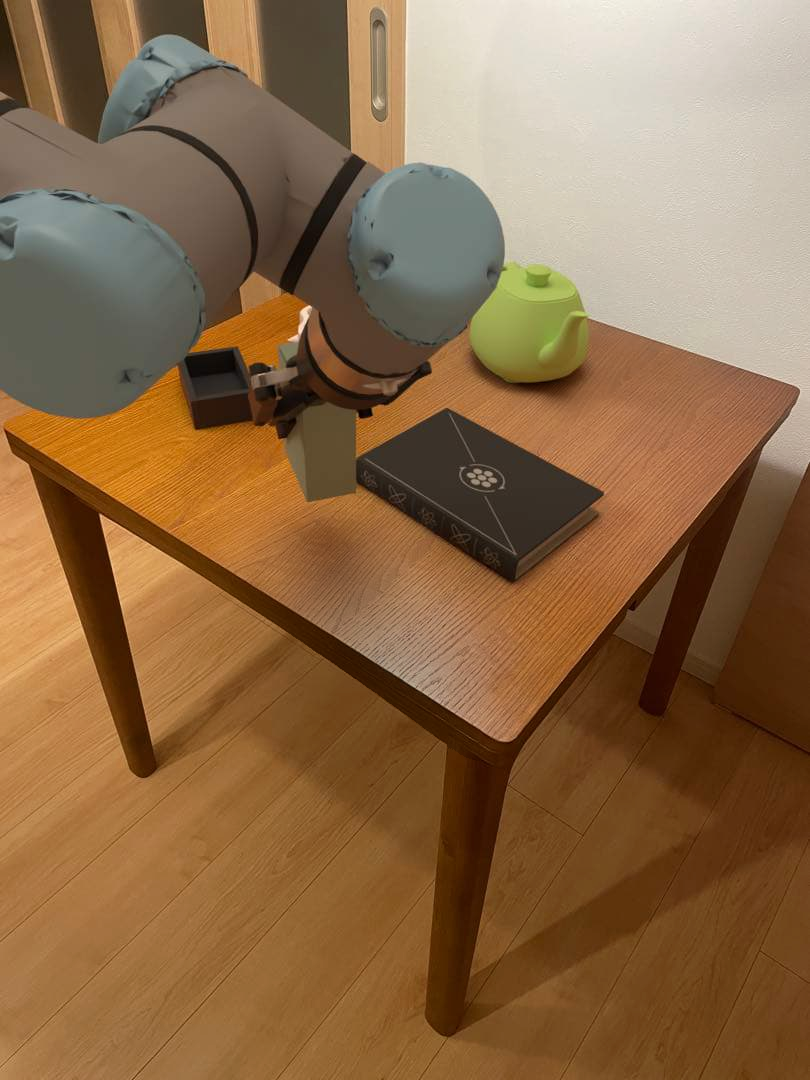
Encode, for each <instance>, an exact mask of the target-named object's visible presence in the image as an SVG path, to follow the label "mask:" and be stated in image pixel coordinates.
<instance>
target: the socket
mask: <svg viewBox="0 0 810 1080" xmlns="http://www.w3.org/2000/svg"><path fill="white" fill-rule="evenodd" d="M240 350H241V349H240V348H239V346H238V345H236V346H228V347H221V348H215V349H205V350H200V351H193V352H189V353H188V354H187V356H186V357H185V359H184V360H183V361H182V362H181V363H180V364H178V365H177V369H178V375H179V381H180V384H181V388H182V391H183V394H184V398H185V401H186V404H187V408H188V411H189V414H190V417H191V421H192V425H193V427H194V429H195V430H200V429H201V430H202V429H207V428H212V427H213V428H214V427H219V426H224V425H230V424H231V425H232V424H237V423H242V422H249V421H253V418H252V413H251V409H250V404H249V399H248V393H249V390H250V387H251V383H252V382H251V377H250V372H249V368H248V366H247V364H246V362H245V360H244V357H243V355H242V353H241V351H240Z"/></svg>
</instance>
